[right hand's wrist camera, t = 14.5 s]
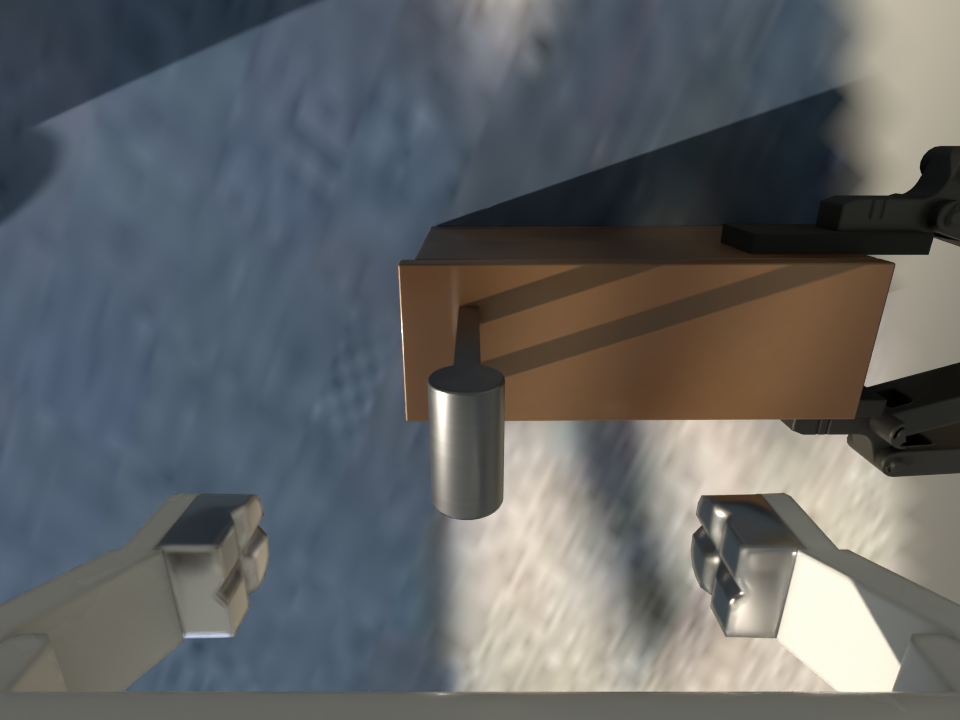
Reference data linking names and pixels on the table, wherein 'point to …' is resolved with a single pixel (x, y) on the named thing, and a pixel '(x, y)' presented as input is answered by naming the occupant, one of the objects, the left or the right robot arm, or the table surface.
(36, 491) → the table surface
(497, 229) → the chest
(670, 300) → the lid
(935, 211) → the left robot arm
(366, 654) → the table surface
